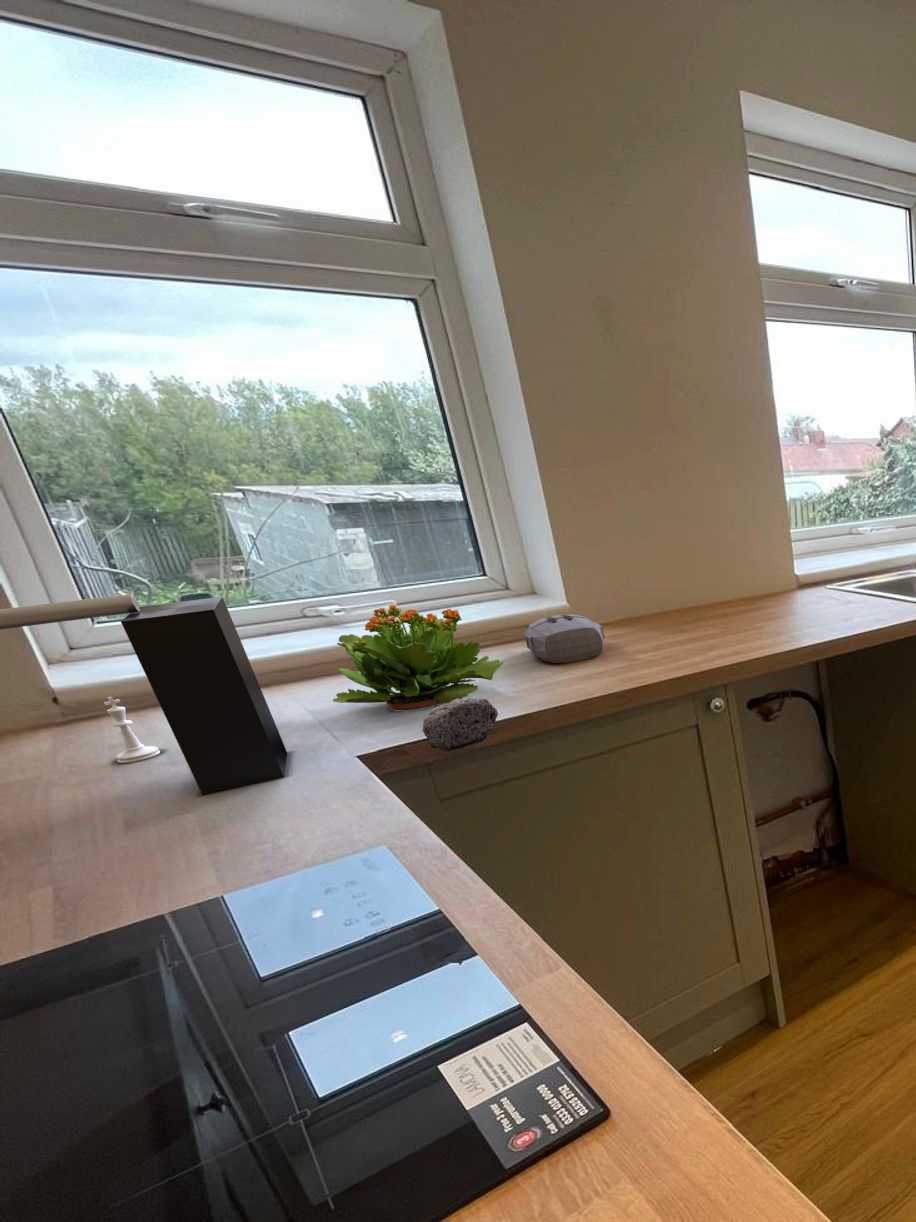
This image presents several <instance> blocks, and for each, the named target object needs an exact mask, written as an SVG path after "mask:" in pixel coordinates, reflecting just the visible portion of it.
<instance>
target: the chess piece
mask: <svg viewBox="0 0 916 1222" xmlns="http://www.w3.org/2000/svg"><path fill="white" fill-rule="evenodd" d="M107 699H108V701H104V702H103V704H104V706H110V705H111V707H110V708H108V709H107V710H106V713H107V714H108V715H109V716H110V717H112V718H113V720H115V721H116V722H115V723H113V727H114V728H120V731H121V734H122V738H123V741H124V743H125V744H124V745H125V748H124V749H123V750H124V751H122V752H120V753H118V754H117V755H116V757H115V759H116V762H117V763H120V764H122V763H123V764H124V763H125V764H126V763H133V762H138V761H143V760H147V759H150V758H153V757H155V756H157V755H159V754H160V753H161V750H160V749H159V747H157V746H151V745H150V746H149V745H148V746H145V744H143V743H141V742H140V739H138V737H137V736H136V735H135V734H134V732H133V730H132V728H131V727H130V726H129V725H132V724H133V721H132V720H129V719H128V720H127V719H126V717H127V716H126V711H127V710H126V707H125V706H117V704H119V703H121V699H119V698H117V699H114V697H113V696H108V697H107Z"/></svg>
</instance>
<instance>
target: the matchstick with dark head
mask: <svg viewBox="0 0 916 1222" xmlns="http://www.w3.org/2000/svg"><path fill="white" fill-rule="evenodd" d="M139 607H140V605H139V602H138V600H137V598H136V596H135V594H132V593H129V594H119V595H112V596H102V597H95V598H94V597H93V598H85V599H84V598H83V599H77V600H68V601H59V602H50V603H42V604H41V603H40V604H34V605H33V604H32V605H25V606H17V607H9V608H0V630H8V629H14V628H22V627H31V626H39V625H48V624H54V623H63V622H71V621H78V620H87V619H95V618H103V617H110V616H111V617H112V616H118V615H128V614H130V613H135V612H140V608H139Z"/></svg>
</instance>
